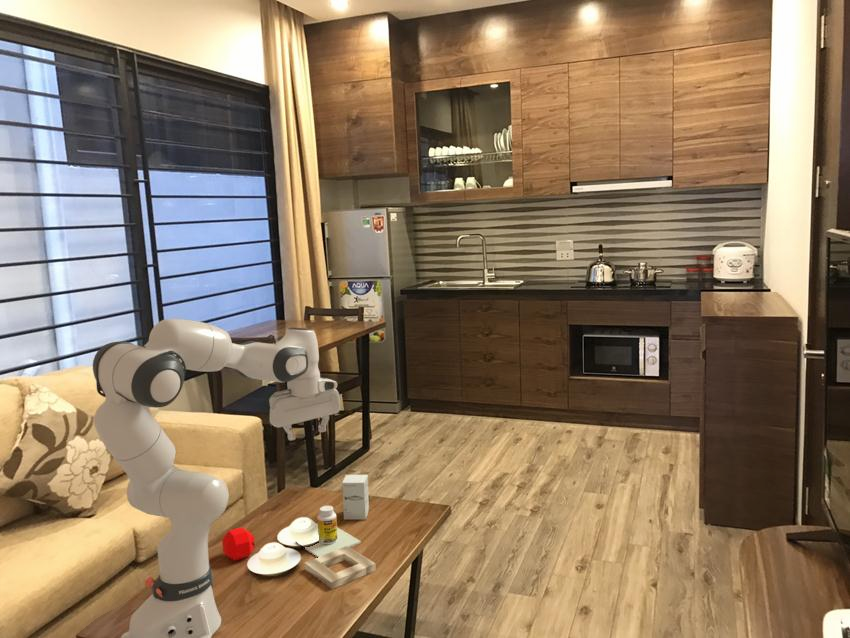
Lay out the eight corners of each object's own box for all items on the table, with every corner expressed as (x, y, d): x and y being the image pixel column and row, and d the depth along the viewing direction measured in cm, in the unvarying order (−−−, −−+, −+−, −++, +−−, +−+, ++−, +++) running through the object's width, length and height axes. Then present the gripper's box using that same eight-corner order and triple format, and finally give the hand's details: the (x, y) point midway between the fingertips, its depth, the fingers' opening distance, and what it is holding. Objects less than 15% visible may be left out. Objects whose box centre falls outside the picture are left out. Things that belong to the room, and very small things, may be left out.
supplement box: (343, 520, 219) (341, 482, 217) (347, 510, 226) (345, 473, 224) (366, 520, 218) (364, 482, 216) (369, 510, 225) (367, 473, 223)
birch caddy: (332, 589, 178) (331, 582, 178) (304, 569, 189) (304, 562, 188) (375, 570, 187) (375, 563, 186) (347, 552, 197) (347, 545, 197)
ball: (257, 557, 196) (255, 532, 195) (230, 566, 192) (228, 540, 191) (248, 546, 203) (246, 522, 202) (221, 554, 199) (219, 530, 198)
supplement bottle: (323, 547, 200) (321, 513, 198) (315, 540, 204) (313, 507, 203) (341, 541, 203) (339, 508, 201) (332, 534, 207) (330, 502, 206)
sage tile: (320, 559, 194) (319, 557, 194) (295, 542, 205) (295, 540, 204) (360, 543, 203) (360, 541, 203) (335, 527, 213) (335, 526, 213)
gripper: (274, 395, 175) (278, 447, 177) (342, 381, 188) (344, 429, 190) (263, 391, 180) (267, 441, 182) (329, 377, 193) (332, 425, 195)
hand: (307, 435), depth 186 cm, fingers open, 8 cm apart
